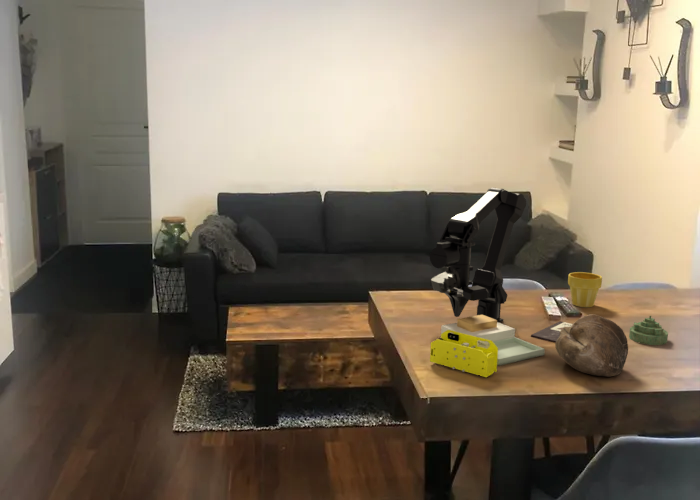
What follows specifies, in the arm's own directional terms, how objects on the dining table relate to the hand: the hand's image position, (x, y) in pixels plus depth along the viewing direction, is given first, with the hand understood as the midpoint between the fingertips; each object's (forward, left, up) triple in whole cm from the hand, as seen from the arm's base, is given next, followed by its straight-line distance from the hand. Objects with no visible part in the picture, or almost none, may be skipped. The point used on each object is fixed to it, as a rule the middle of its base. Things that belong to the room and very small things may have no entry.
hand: (456, 316), depth 215 cm
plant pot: (-55, -2, -5) cm, 55 cm away
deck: (0, +9, -5) cm, 10 cm away
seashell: (-11, +38, -5) cm, 40 cm away
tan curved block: (0, +9, -1) cm, 9 cm away
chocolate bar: (-26, +15, -5) cm, 30 cm away
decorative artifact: (-44, +31, -5) cm, 54 cm away
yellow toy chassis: (+17, +23, -5) cm, 29 cm away
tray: (0, +21, -5) cm, 21 cm away
